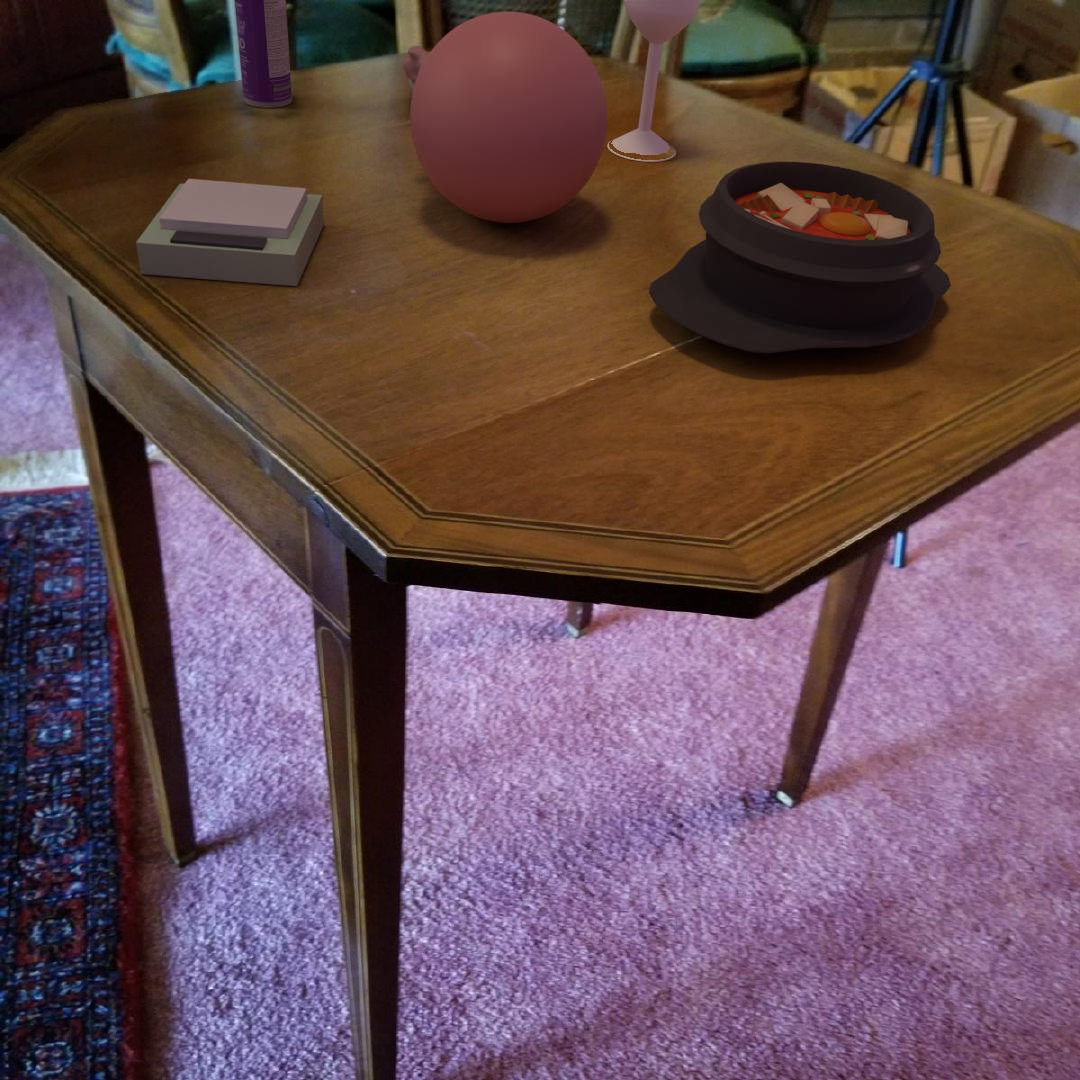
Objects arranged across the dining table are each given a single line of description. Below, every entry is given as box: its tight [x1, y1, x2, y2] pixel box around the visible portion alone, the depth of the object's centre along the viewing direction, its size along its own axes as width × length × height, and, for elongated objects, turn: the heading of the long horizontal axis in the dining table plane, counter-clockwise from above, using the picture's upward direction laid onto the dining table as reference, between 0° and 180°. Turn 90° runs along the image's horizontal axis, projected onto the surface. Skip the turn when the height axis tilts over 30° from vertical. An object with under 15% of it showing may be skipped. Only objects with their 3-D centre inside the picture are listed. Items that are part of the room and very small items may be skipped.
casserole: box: [648, 161, 952, 354], centre depth 78 cm, size 25×19×8 cm
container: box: [234, 0, 293, 109], centre depth 103 cm, size 5×5×15 cm
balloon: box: [402, 11, 608, 224], centre depth 86 cm, size 15×20×15 cm
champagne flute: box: [607, 0, 700, 163], centre depth 97 cm, size 7×7×24 cm
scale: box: [135, 178, 325, 287], centre depth 80 cm, size 11×11×3 cm
